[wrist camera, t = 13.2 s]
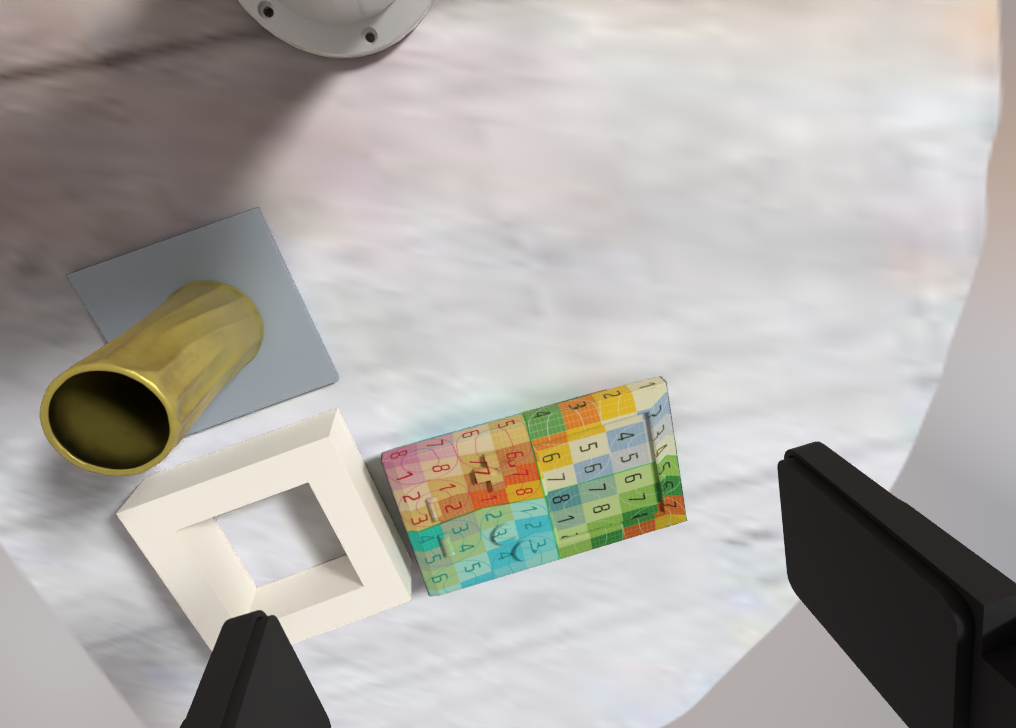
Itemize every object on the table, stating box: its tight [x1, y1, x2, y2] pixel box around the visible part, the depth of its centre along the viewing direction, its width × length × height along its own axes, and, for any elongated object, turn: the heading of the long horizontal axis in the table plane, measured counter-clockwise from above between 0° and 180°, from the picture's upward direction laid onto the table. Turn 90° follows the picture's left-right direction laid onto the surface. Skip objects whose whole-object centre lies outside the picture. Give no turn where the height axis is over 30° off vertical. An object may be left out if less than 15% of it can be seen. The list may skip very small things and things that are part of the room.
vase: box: [40, 280, 264, 476], centre depth 32 cm, size 6×6×14 cm
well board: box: [116, 407, 412, 651], centre depth 42 cm, size 14×14×4 cm
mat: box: [66, 207, 339, 436], centre depth 39 cm, size 12×12×1 cm
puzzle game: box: [381, 376, 687, 596], centre depth 44 cm, size 12×5×20 cm
